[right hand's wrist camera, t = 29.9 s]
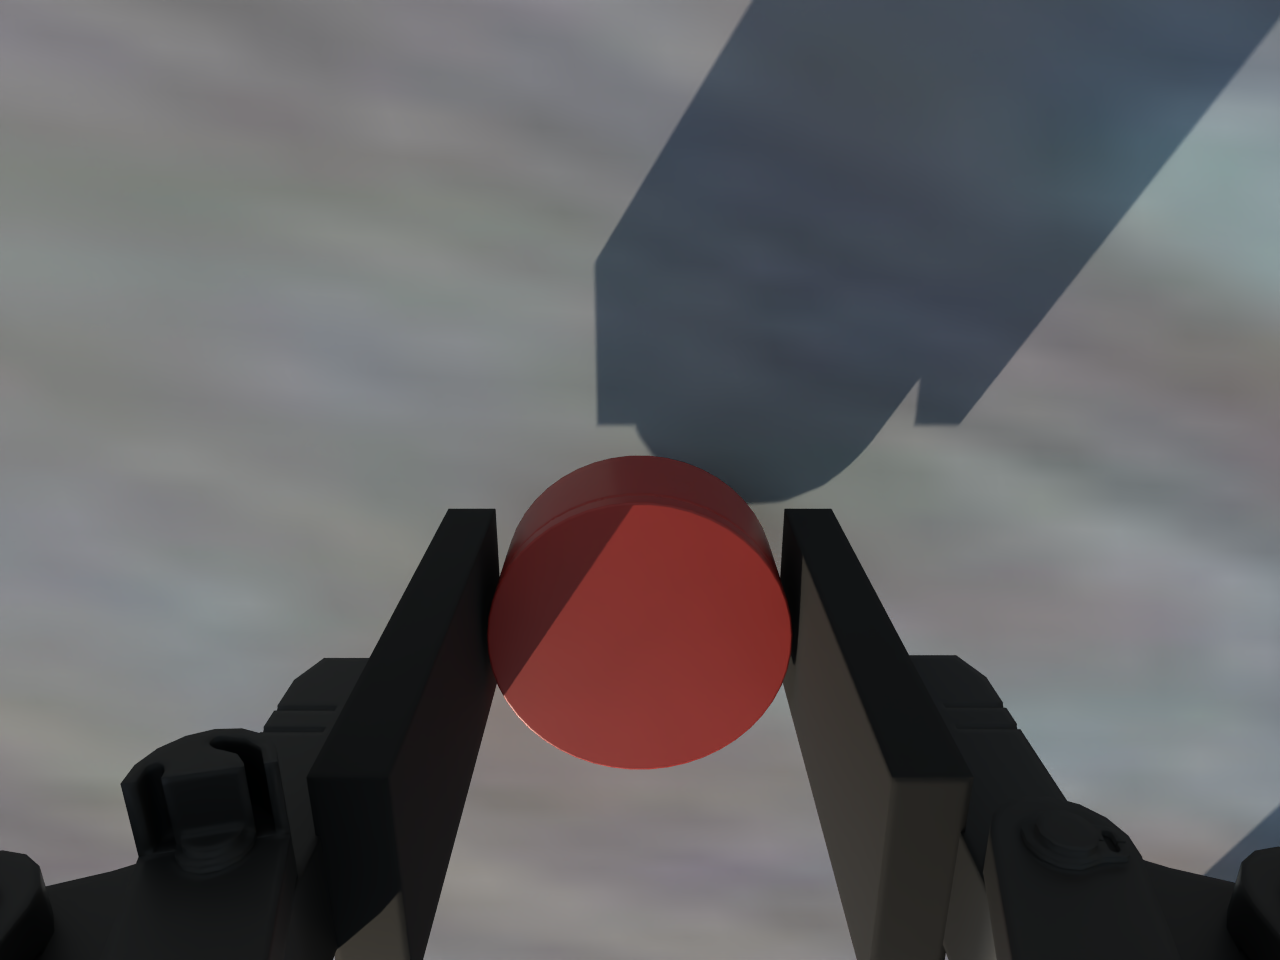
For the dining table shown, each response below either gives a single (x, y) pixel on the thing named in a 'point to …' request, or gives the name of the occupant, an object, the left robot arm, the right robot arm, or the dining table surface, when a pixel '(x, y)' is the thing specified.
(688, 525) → the cap
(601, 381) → the dining table surface
